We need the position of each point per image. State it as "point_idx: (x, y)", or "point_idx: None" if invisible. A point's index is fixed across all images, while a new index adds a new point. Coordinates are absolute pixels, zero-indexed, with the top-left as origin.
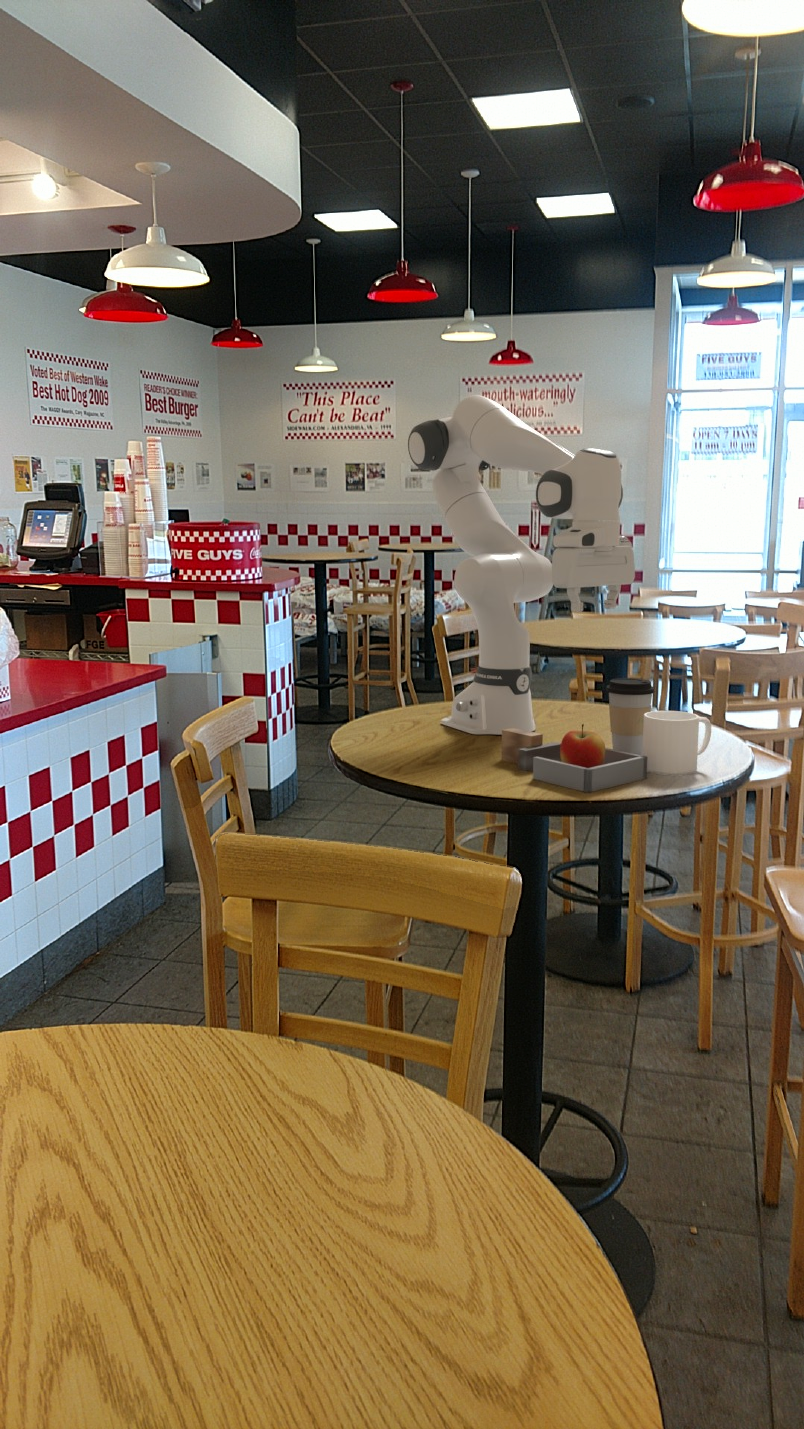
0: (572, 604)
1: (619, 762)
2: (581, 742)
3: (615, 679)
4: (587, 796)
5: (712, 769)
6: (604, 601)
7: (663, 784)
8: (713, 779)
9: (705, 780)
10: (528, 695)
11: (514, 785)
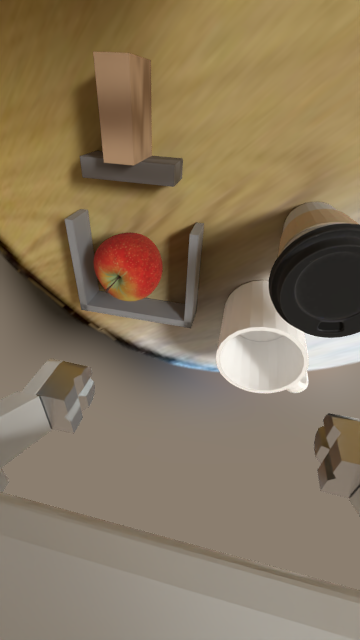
0: (32, 388)
1: (138, 317)
2: (103, 286)
3: (348, 251)
4: None
5: None
6: (337, 451)
7: (186, 334)
8: None
9: None
10: None
11: (40, 213)
